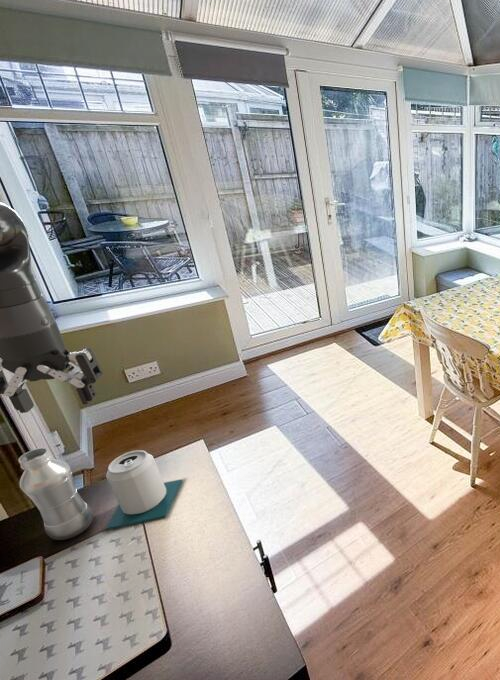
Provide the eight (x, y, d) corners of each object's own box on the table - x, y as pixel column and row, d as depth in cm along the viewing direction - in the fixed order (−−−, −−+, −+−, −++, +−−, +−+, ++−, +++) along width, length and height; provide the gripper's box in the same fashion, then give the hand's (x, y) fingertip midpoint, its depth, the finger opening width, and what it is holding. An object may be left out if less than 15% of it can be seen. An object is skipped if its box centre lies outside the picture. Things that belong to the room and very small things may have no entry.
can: (164, 482, 94) (148, 441, 89) (170, 503, 89) (153, 461, 84) (121, 501, 89) (101, 459, 84) (124, 524, 84) (104, 480, 80)
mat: (106, 530, 84) (105, 528, 83) (129, 491, 92) (128, 489, 92) (165, 517, 87) (164, 515, 87) (182, 481, 95) (181, 479, 95)
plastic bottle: (60, 522, 85) (18, 447, 77) (103, 511, 87) (66, 438, 79) (43, 550, 80) (-4, 473, 71) (89, 538, 82) (47, 462, 74)
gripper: (89, 311, 73) (118, 387, 79) (-20, 320, 68) (21, 400, 75) (63, 330, 67) (97, 411, 73) (-58, 341, 62) (-11, 426, 68)
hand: (58, 405), depth 74 cm, fingers open, 8 cm apart
